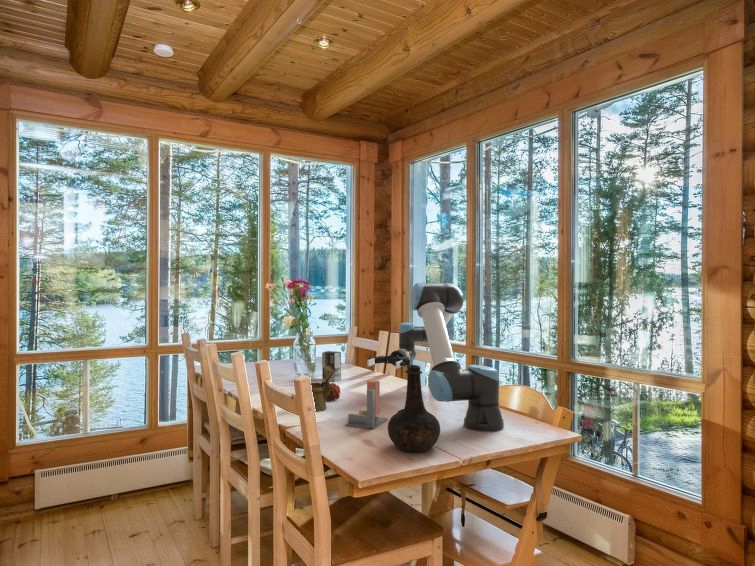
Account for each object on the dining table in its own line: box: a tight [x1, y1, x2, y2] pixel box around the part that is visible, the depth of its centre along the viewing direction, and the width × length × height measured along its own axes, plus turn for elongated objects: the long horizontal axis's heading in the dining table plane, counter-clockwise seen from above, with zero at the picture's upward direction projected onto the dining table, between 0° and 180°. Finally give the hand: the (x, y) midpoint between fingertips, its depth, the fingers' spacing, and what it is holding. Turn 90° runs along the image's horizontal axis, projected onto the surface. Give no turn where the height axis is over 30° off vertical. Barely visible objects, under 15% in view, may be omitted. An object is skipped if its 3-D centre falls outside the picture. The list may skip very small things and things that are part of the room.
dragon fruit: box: [323, 382, 341, 401], centre depth 247 cm, size 8×8×12 cm
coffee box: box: [321, 350, 342, 382], centre depth 294 cm, size 9×6×16 cm
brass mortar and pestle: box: [310, 368, 336, 412], centre depth 229 cm, size 9×14×18 cm, turn 96°
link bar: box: [366, 379, 381, 416], centre depth 220 cm, size 4×4×14 cm
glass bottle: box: [387, 364, 441, 453], centre depth 176 cm, size 18×18×28 cm
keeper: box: [345, 389, 389, 430], centre depth 206 cm, size 15×12×15 cm
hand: (382, 364), depth 229 cm, fingers open, 13 cm apart
